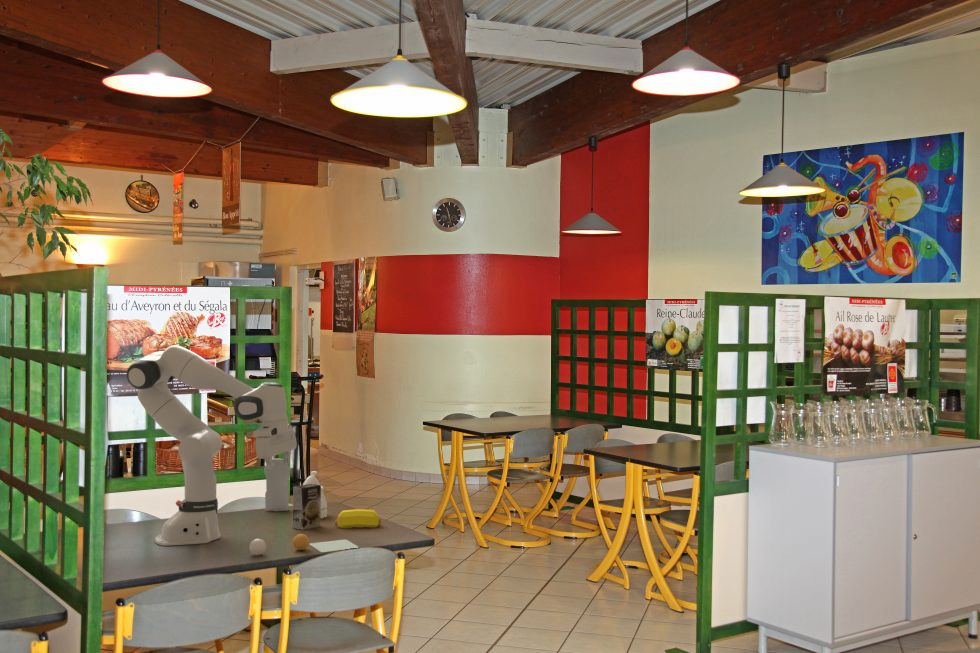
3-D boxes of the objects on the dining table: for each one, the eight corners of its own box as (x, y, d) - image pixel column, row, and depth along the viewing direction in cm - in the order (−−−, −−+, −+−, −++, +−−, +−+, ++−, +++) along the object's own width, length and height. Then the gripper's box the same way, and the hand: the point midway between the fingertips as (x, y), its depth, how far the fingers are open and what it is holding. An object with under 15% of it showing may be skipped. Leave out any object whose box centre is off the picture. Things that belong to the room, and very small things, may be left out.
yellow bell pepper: (381, 528, 346) (381, 524, 353) (381, 511, 346) (381, 507, 353) (334, 529, 344) (335, 525, 351) (334, 512, 344) (335, 508, 351)
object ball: (295, 552, 307) (295, 536, 307) (290, 549, 312) (290, 533, 312) (311, 550, 310) (311, 534, 310) (306, 547, 314) (306, 531, 314)
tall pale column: (263, 511, 376) (263, 458, 376) (264, 509, 380) (265, 457, 380) (289, 511, 377) (289, 458, 377) (290, 509, 381) (290, 457, 381)
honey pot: (305, 512, 375) (306, 469, 375) (332, 514, 371) (333, 471, 371) (288, 518, 363) (289, 473, 363) (316, 520, 359) (317, 475, 359)
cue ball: (251, 557, 299) (251, 541, 299) (247, 554, 304) (247, 538, 304) (268, 555, 302) (268, 539, 302) (263, 552, 307) (263, 536, 307)
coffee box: (303, 530, 341) (303, 488, 341) (291, 528, 345) (292, 486, 345) (321, 526, 348) (321, 484, 348) (310, 524, 352) (310, 483, 352)
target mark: (321, 552, 307) (321, 552, 307) (308, 544, 319) (308, 543, 319) (359, 548, 314) (359, 547, 314) (345, 539, 326) (345, 539, 326)
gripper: (284, 423, 327) (287, 460, 328) (251, 432, 308) (254, 472, 309) (299, 423, 325) (302, 460, 326) (266, 432, 306) (270, 472, 307)
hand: (278, 466), depth 317 cm, fingers open, 8 cm apart
